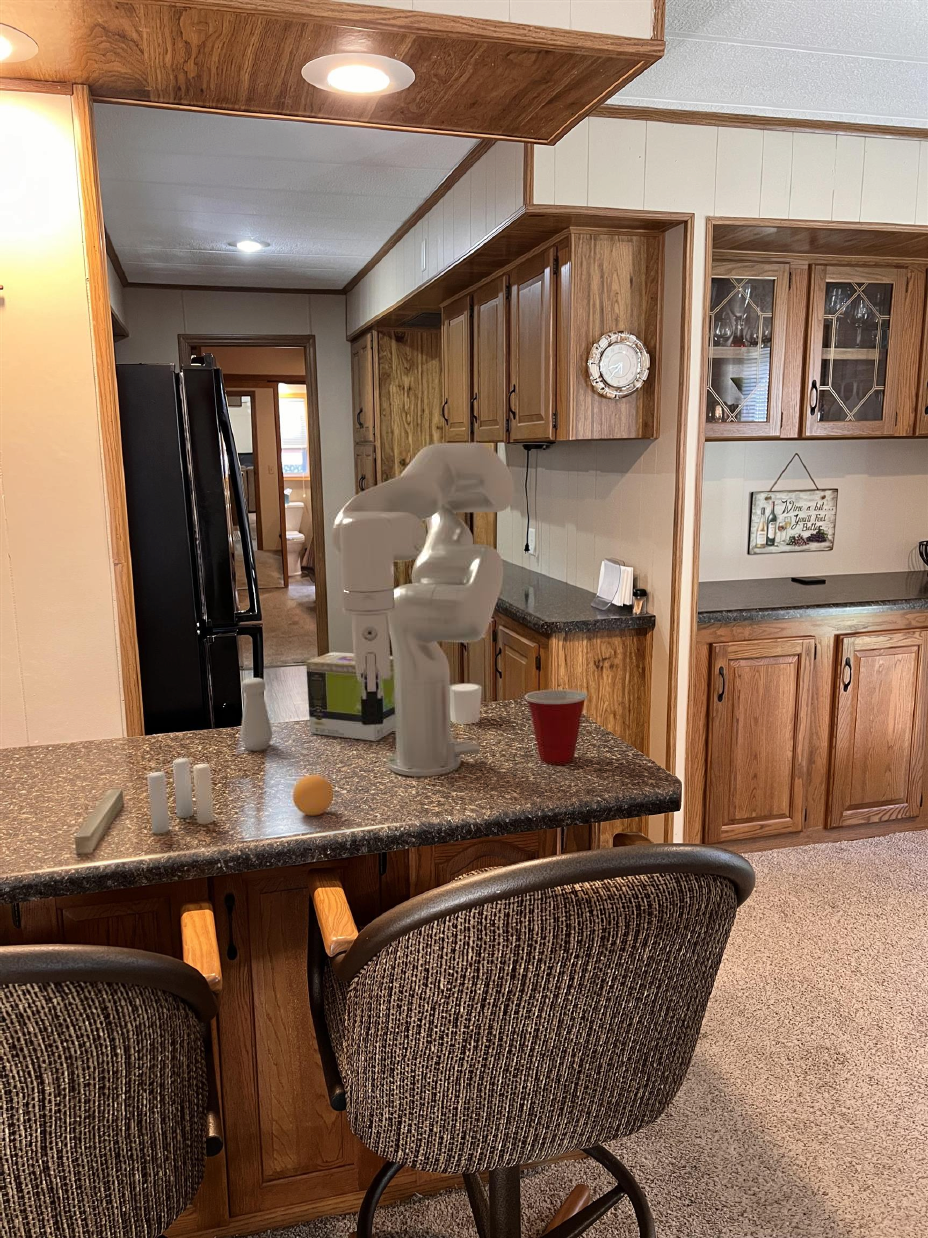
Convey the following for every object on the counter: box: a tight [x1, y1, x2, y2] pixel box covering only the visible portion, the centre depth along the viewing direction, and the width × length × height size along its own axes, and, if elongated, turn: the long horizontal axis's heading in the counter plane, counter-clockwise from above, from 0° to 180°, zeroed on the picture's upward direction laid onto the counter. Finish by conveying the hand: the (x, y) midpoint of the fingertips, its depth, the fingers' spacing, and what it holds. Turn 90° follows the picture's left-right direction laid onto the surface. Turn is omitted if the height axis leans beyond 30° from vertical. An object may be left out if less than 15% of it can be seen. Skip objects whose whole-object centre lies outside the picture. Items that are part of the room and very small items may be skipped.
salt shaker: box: [240, 677, 273, 752], centre depth 170 cm, size 6×6×13 cm
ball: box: [292, 774, 334, 817], centre depth 138 cm, size 6×6×6 cm
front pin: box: [192, 763, 215, 825], centre depth 137 cm, size 2×2×8 cm
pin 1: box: [147, 771, 170, 835], centre depth 133 cm, size 2×2×8 cm
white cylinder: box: [450, 682, 483, 725], centre depth 184 cm, size 7×7×7 cm
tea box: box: [305, 651, 396, 742], centre depth 178 cm, size 15×10×15 cm
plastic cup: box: [524, 689, 589, 765], centre depth 160 cm, size 11×11×12 cm
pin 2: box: [172, 757, 194, 819], centre depth 139 cm, size 2×2×8 cm
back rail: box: [74, 788, 125, 855], centre depth 136 cm, size 2×18×2 cm, turn 6°
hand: (372, 723), depth 137 cm, fingers closed
